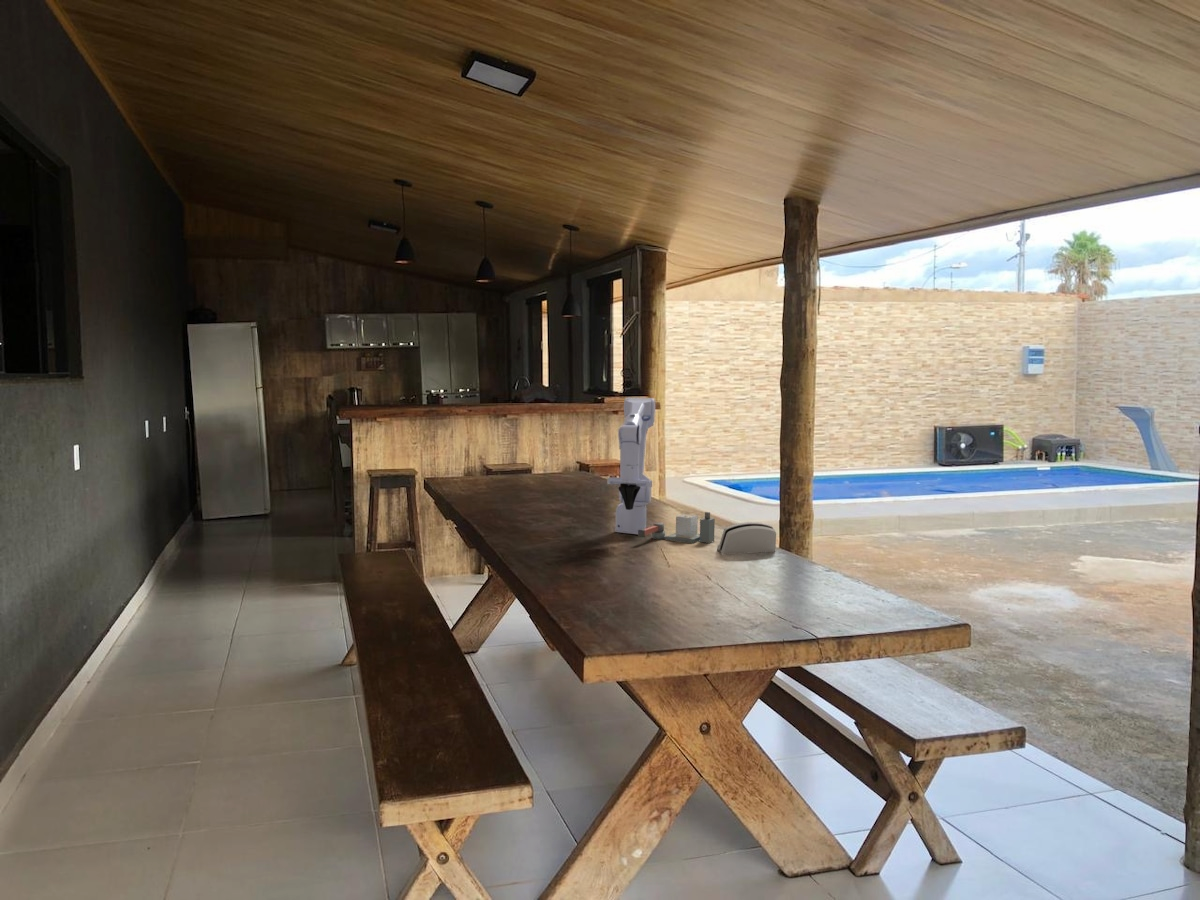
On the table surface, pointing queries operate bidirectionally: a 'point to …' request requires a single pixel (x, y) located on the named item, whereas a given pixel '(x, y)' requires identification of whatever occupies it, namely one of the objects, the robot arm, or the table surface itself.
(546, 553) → the table surface
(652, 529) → the lever
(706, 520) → the press
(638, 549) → the table surface
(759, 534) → the white arched thin slab
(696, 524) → the block
